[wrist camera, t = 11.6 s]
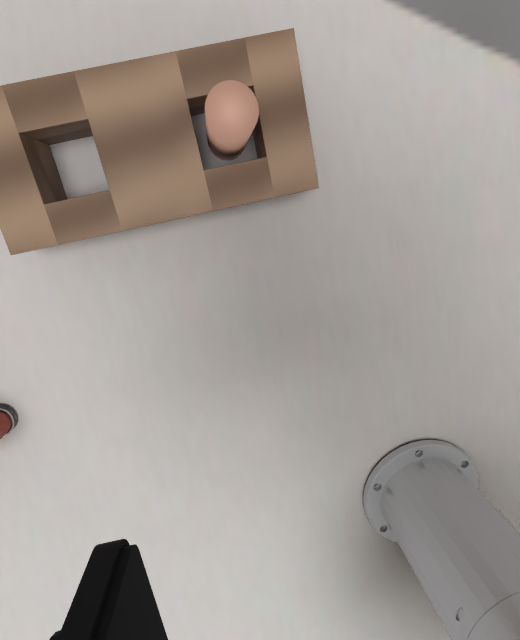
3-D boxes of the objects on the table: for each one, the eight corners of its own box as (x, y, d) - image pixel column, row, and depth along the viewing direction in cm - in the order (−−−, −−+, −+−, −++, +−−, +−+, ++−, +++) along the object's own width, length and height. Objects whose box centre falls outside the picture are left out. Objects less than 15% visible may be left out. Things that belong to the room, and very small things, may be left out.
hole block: (303, 190, 33) (318, 187, 29) (40, 248, 32) (10, 255, 27) (280, 56, 30) (293, 28, 26) (-9, 114, 29) (-52, 95, 25)
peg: (249, 156, 32) (263, 134, 23) (212, 163, 32) (211, 144, 22) (241, 115, 31) (252, 75, 22) (203, 123, 31) (198, 85, 22)
